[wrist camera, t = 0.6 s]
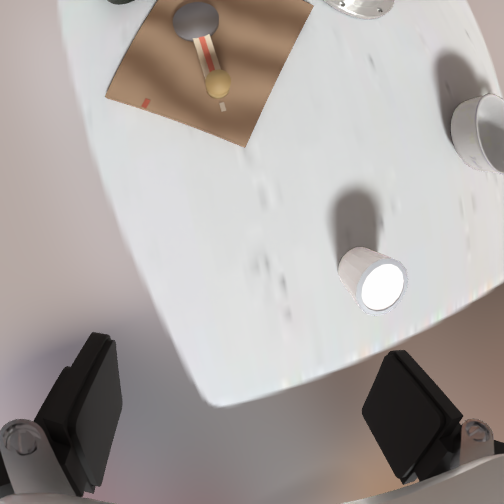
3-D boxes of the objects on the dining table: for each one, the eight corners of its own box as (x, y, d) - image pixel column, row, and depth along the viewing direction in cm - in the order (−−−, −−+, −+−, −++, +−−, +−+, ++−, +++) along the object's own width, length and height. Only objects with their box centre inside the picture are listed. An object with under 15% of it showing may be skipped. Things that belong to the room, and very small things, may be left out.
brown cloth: (186, -34, 25) (185, -39, 24) (311, 9, 28) (314, 5, 27) (107, 98, 29) (104, 96, 28) (244, 147, 33) (245, 147, 31)
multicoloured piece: (169, 13, 26) (164, -2, 22) (212, 2, 26) (212, -15, 22) (197, 107, 29) (195, 99, 26) (243, 94, 30) (247, 85, 26)
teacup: (444, 170, 36) (483, 175, 28) (435, 95, 33) (473, 88, 25) (497, 168, 37) (533, 173, 29) (491, 104, 34) (526, 102, 26)
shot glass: (336, 298, 39) (358, 324, 32) (329, 249, 37) (353, 267, 30) (381, 284, 39) (408, 305, 33) (378, 236, 37) (407, 251, 31)
